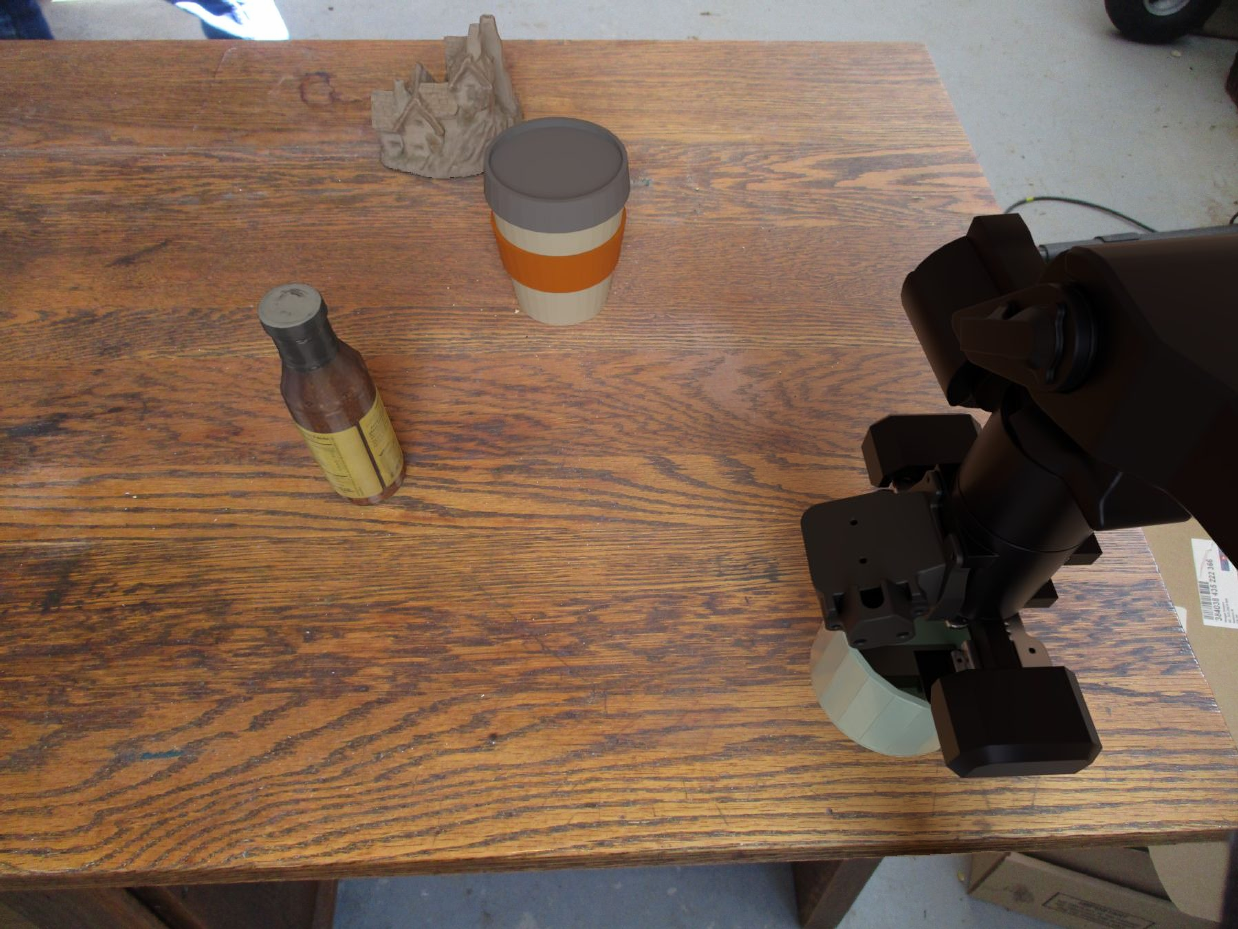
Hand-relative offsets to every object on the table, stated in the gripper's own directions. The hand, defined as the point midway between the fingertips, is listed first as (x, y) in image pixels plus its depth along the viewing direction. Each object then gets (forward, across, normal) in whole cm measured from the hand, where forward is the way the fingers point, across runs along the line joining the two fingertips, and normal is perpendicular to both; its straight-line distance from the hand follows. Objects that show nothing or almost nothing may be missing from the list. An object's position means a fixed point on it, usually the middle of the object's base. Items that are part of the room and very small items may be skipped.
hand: (913, 644), depth 48 cm
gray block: (+4, 0, 0) cm, 4 cm away
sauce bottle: (+12, -21, -36) cm, 44 cm away
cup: (+5, 0, 0) cm, 5 cm away
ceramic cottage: (+12, -69, -33) cm, 77 cm away
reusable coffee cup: (+12, -42, -20) cm, 49 cm away
